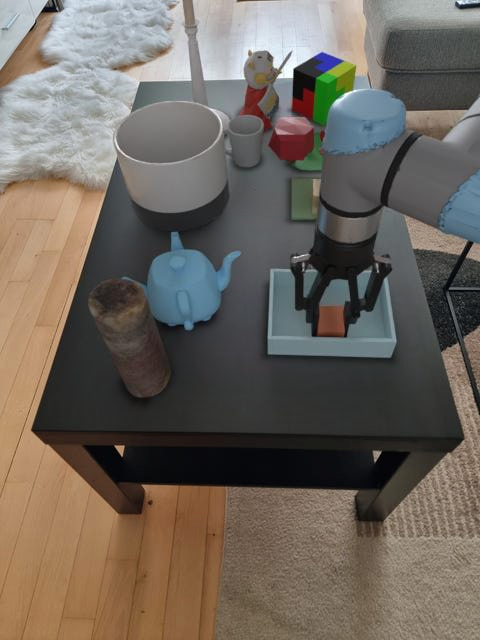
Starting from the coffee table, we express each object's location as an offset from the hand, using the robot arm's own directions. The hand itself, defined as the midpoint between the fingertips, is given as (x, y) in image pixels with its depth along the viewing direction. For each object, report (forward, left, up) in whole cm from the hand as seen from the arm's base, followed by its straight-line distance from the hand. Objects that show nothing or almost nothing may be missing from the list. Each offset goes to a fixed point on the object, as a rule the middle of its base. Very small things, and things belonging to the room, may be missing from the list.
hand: (328, 332), depth 77 cm
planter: (+28, -30, -1) cm, 41 cm away
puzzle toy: (-1, -66, -1) cm, 66 cm away
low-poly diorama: (+1, -48, -1) cm, 48 cm away
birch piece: (0, -31, -1) cm, 31 cm away
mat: (0, -33, -1) cm, 33 cm away
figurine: (+13, -63, -1) cm, 65 cm away
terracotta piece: (0, 0, -1) cm, 1 cm away
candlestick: (+27, -59, -1) cm, 65 cm away
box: (0, -3, -1) cm, 3 cm away
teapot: (+24, -6, -1) cm, 25 cm away
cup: (+17, -46, -1) cm, 49 cm away
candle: (+28, +9, -1) cm, 29 cm away
